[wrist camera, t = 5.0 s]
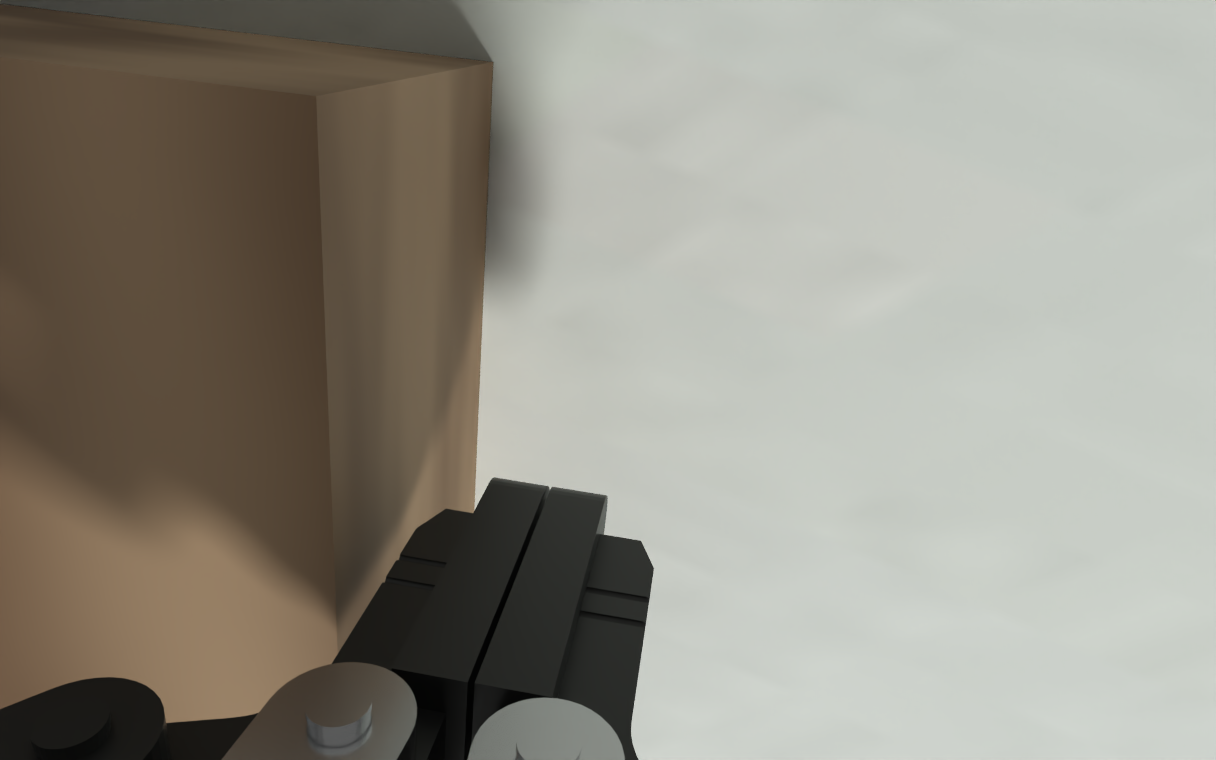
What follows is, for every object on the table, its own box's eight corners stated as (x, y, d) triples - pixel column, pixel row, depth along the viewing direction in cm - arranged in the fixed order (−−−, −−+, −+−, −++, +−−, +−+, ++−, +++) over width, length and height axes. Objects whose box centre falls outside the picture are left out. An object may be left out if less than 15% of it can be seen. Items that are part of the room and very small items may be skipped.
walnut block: (1, 520, 17) (-335, 752, 12) (-121, -13, 13) (-718, -33, 8) (474, 602, 17) (346, 891, 11) (498, 61, 12) (316, 96, 7)
